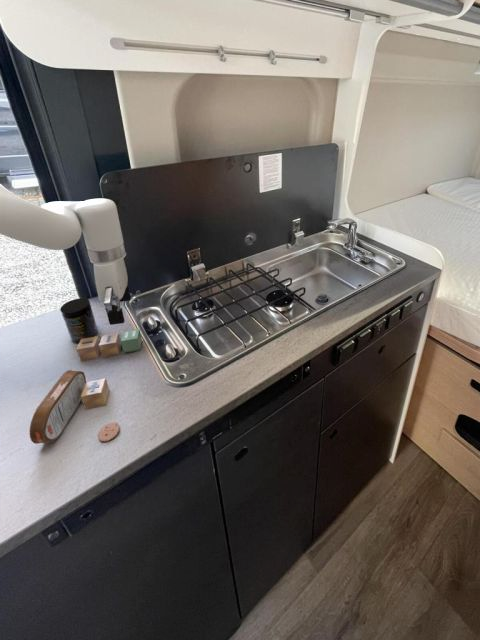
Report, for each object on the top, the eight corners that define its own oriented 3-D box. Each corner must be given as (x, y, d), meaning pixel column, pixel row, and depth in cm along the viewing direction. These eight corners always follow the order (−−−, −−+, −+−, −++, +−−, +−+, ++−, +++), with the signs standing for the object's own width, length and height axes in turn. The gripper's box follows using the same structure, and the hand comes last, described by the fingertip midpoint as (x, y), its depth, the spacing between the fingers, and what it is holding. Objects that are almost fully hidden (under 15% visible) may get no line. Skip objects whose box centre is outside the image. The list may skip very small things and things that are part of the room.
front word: (85, 409, 71) (80, 396, 70) (90, 394, 75) (85, 381, 73) (105, 405, 72) (101, 392, 71) (109, 390, 76) (105, 377, 74)
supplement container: (100, 337, 92) (90, 307, 87) (71, 347, 88) (60, 316, 84) (97, 324, 97) (88, 295, 92) (70, 333, 93) (60, 303, 89)
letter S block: (124, 352, 87) (120, 340, 85) (126, 342, 90) (123, 330, 88) (140, 349, 88) (137, 337, 86) (142, 339, 91) (139, 328, 89)
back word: (80, 362, 84) (75, 350, 82) (85, 349, 88) (81, 337, 86) (141, 351, 87) (138, 339, 86) (143, 339, 92) (140, 327, 90)
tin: (79, 388, 76) (68, 361, 73) (92, 388, 76) (83, 361, 73) (35, 453, 63) (20, 424, 59) (53, 452, 63) (39, 423, 59)
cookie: (119, 420, 69) (118, 417, 69) (120, 437, 66) (119, 433, 65) (98, 428, 67) (97, 425, 67) (98, 445, 64) (96, 442, 64)
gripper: (98, 238, 83) (111, 295, 90) (77, 271, 68) (96, 336, 75) (130, 235, 85) (141, 291, 92) (117, 267, 70) (131, 330, 77)
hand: (121, 311), depth 84 cm, fingers open, 9 cm apart
